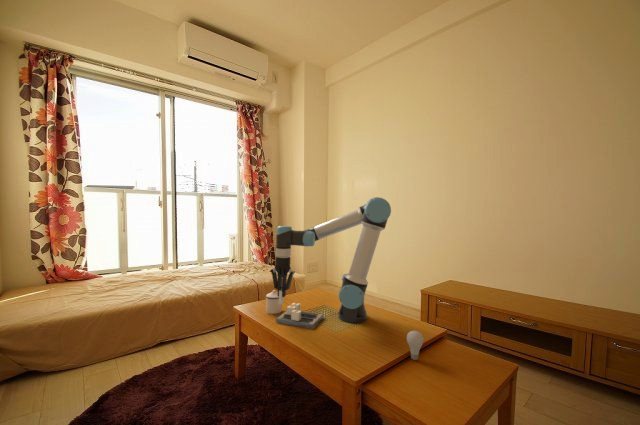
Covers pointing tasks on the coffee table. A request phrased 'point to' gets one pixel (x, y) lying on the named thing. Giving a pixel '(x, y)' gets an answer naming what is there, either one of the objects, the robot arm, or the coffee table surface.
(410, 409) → the coffee table surface
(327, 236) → the robot arm
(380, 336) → the coffee table surface
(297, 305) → the breaker
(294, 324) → the panel
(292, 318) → the breaker
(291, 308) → the breaker
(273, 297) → the teacup with lid
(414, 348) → the lightbulb
